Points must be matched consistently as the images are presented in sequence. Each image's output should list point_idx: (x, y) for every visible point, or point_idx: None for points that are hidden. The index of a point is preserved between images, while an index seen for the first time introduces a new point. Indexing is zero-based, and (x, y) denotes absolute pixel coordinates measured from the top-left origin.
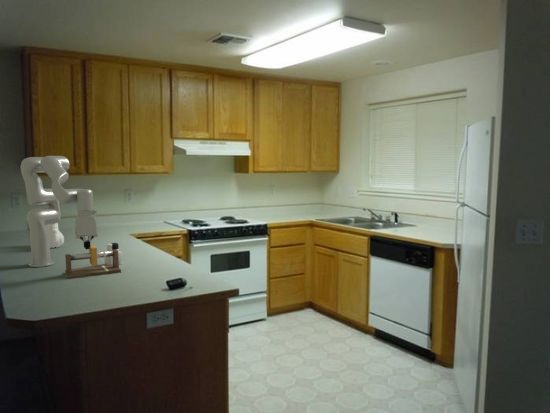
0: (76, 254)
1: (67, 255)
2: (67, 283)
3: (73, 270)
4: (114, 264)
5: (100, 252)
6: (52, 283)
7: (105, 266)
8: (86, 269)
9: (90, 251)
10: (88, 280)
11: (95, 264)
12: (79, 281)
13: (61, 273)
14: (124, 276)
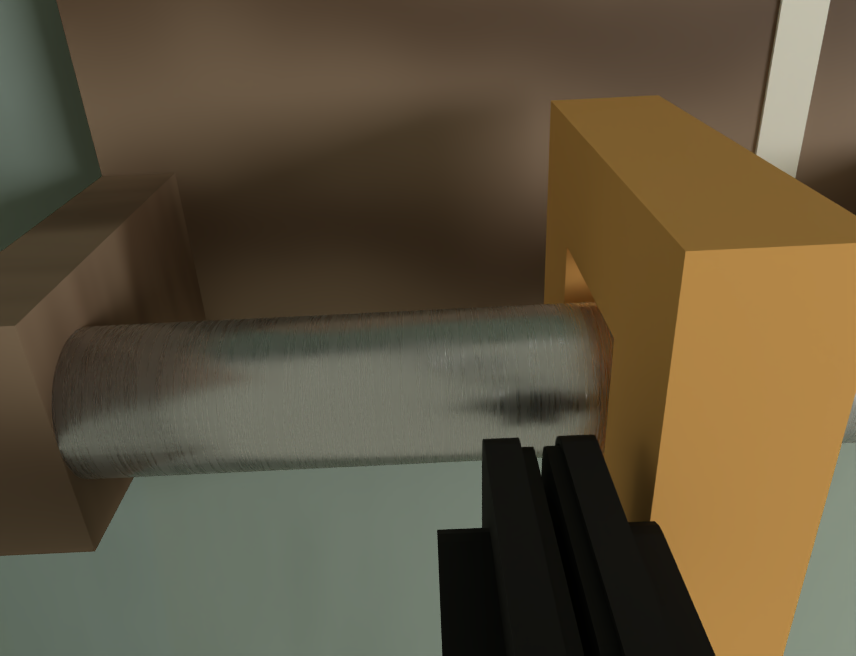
0: (226, 458)
1: (4, 504)
2: (199, 617)
3: (225, 137)
4: None
5: (846, 438)
6: (25, 558)
7: (828, 68)
8: (455, 166)
9: (608, 441)
10: (424, 594)
11: None
12: (325, 594)
13: (14, 10)
14: (825, 594)
